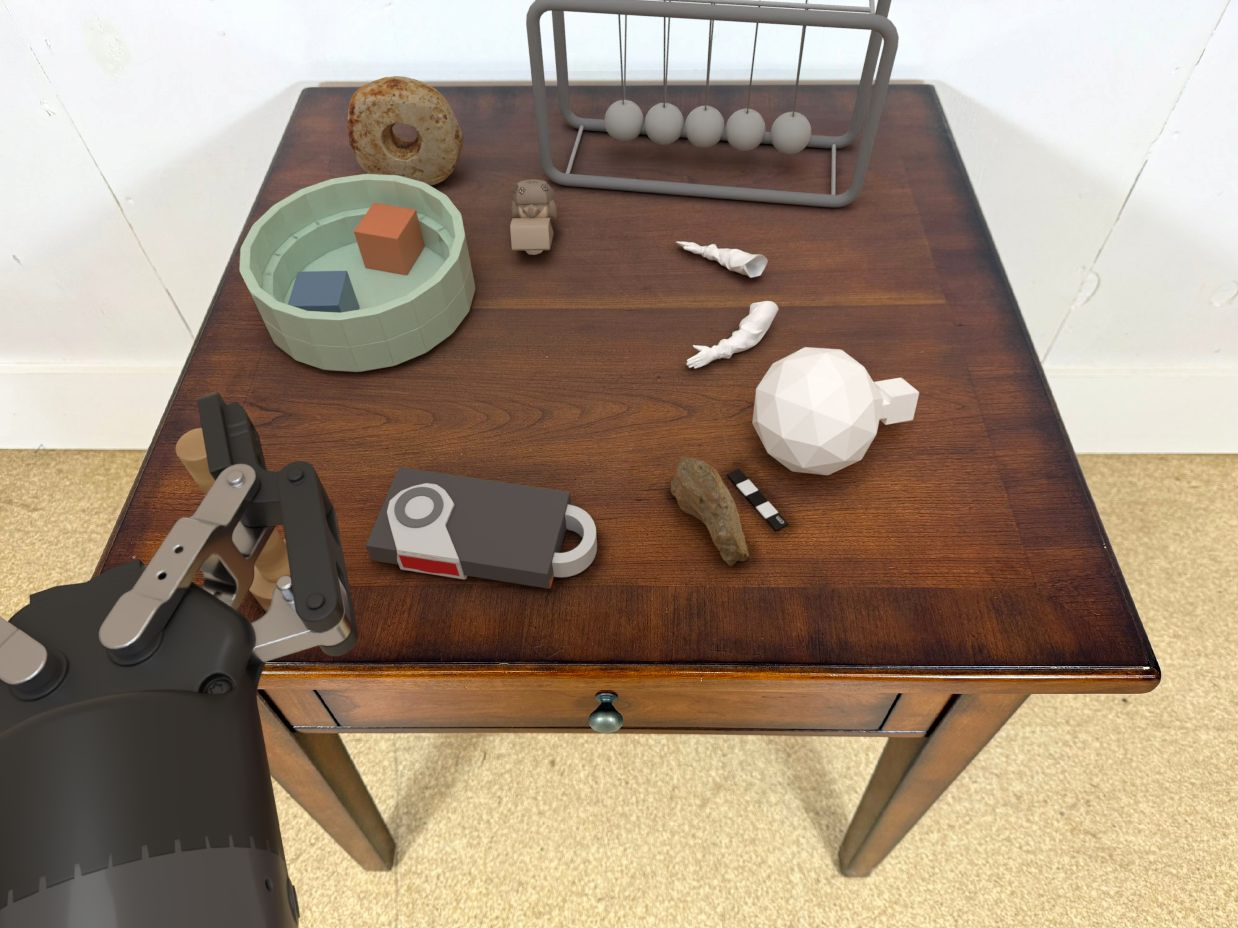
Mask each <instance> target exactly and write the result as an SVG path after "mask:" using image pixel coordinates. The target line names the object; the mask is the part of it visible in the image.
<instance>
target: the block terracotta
mask: <svg viewBox="0 0 1238 928" xmlns="http://www.w3.org/2000/svg"><path fill="white" fill-rule="evenodd" d="M354 234H355V237H356V240H357V244H358V247H359V250H360V253H361V256H362V259H363V262H364V265H365V268H369V269H374V270H380V271H385V272H391V273H396V274H402V275H408V273H409V272H410V270H411V268H412V267H413V265H414V264H415V262H416V260H417V259H418V257H419V255H420V254H421V252H422V250H423V249H424V247H425V244H424V240H423V236H422V232H421V228H420V224H419V220H418V216H417V212H416V210H415V209H409V208H403V207H397V206H391V205H385V204H379V203H373V204H372V206H371V207H370V208H369V210H368V211H367V213H366V214H365V216H364V217H363V218H362V220H361V221H360V223H359V224H358V226H357V227H356V229H355V230H354Z"/></svg>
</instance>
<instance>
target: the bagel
mask: <svg viewBox="0 0 1238 928" xmlns="http://www.w3.org/2000/svg"><path fill="white" fill-rule="evenodd" d="M346 112H347V113H346V116H347V120H346V122H347V127H346V128H347V135H348V145H349V146H350V147H351V150H352V153H353V155H354V158H355V160H356V162H357V164H358V165H359V166H360V168H361V169H362V170H364V172H365V173H366V174H379V175H398V176H402V177H406V178H409V179H413V180H417V181H421V182H424V183H426V184H428V185H430V186H431V187H432V186H435V185H437V184H440V183H441V182H444V181H445V180H446V179H447V178H449V176H450V175H451V174H453V172H454V170H456V169H455V168H456V166H457V165H458V163H459V160H460V158H461V155H462V151H463V148H464V134H463V131H462V129H461V126H460V124H459V121H458V120H457V118H456V116H455V113H454V111H453V109H452V107H451V105H450V104H449V102H448V100H447V99H446V98H445V97H444V95H443V94H442V93H440V91H439V90H438V89H436V88H434V87H433V86H431V85H430V84H428V83H426V82H423V81H421V80H418V79H415V78H411V77H408V76H401V75H400V76H399V75H393V76H385V77H380V78H379V79H374V80H372V81H370V82H368V83H365V84H364V85H362V86H361V87H359V88H358V89H356V91H355V92H354V93H353V95H352V96H351V98H350V101H349V103H348V106H347V111H346ZM396 124H403V125H407V126H410V127H411V128H412V129H414V130H415V132H416V137H415V138H414V139H412V140H405V139H402V138H400V137H399V136H397V135H396V134H395V132H394V130H393V127H394V126H395V125H396Z"/></svg>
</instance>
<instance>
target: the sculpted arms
mask: <svg viewBox="0 0 1238 928" xmlns="http://www.w3.org/2000/svg"><path fill="white" fill-rule="evenodd" d="M675 244H677V245H678V246H680V247H682V248H683V250H685V251H688V252H691V253H693V254H695V255H700V256H702V257H703V258H706V259H707V260H709V261H716V262H717V263H719V264H720V265H721V266H723V267H724V268H727V270H729V272H735V273H737V274H740V275H743V276H747V277H749V279H750V278H751V279H752V278H756V277H759V276H761V275H762V273H763V272H764V270H765V269H766V266H767V264H768V262H769V260H768V258H767V257H766V256H765V255H764V254H762V253H761V254H760V253H759V254H755V253H754V254H752V253H751V252H746V251H743V250H741V249H738V248H728V247H726V248H718V246H717V244H715V243H712V244H709V245H703V246H701V245H700V244H697V243H695V242H693V241H690V242H689V241H679V240H677V241H675ZM778 312H779V307H778V305H777V304H776V303H775V302H774V301H771V300H764V301H758V302H753V303H751V304H750V305H749V312H748V313H749V314H748V315H747V316H745V317H744V318H742V319H741V320H740V322H739V324H738V330H734V331H732V333H731V336H730V337H729V338H723V339H720V341H718V343H717V345H713V346H711V347H709V346H707V345H695V344H693V345H692V347H693V348H694V349H695V350H696V351H698V353H697V354H695V355H693V356H691V357H690V358H688V359H686V366H688V368H689V369H691V368H693V369H694V370H695V369H698V368H701V367H703V366H706V365H708V364H710V363H711V362H713V361H716V360H721V359H727V360H729V359H731V358H732V356H733V354H735V353H741V352H744V351H748V350H749V349H751V348H753V347H755V346H756V345H757V344H758V343H760V342H761V340H762V338H764V336H765V334H766V333H767V332H768V330H769V329H770V327H771V326H772V323H773V321H774V319H775V317H776V316H777V314H778Z"/></svg>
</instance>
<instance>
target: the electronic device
mask: <svg viewBox="0 0 1238 928" xmlns="http://www.w3.org/2000/svg"><path fill="white" fill-rule="evenodd" d="M567 530H568V531H572V532H574V533H576V534H577V535H579V536H580V537H581V538H582V539H581V541H580V543H579V544H578V545H577V546H576V547H575V548H573V549H571V550H568V551H565V552H561V551H562V547H563V544H564V540H565V536H566V533H567ZM365 548H366V550H367V552H368V554H369V556H370V559H371V561H374V562H380V563H385V564H392V565H398V566H399V569H400V570H402V571H410V572H415V573H421V574H427V575H434V576H440V577H446V578H452V579H459V580H467V578H468V577H472V578H473V577H474V578H480V579H486V580H492V581H498V582H504V583H511V584H517V585H523V586H529V587H535V588H542V589H551V588H552V586H553V585H552V584H553V582H554V578H568V577H572V576H576V575H578V574H580V573H582V572H584V571H585V570H587V568H588V567H590V566H591V564H592V563H593V562H594V560H595V559H596V555H597V551H598V539H597V527H596V524H595V521H594V519H593V518H592V516H591V515H590V514H589V513H588V512H587V511H585V510H584V509H583V508H581V507H579V506H576V505H573V504H572V499H571V491H569V490H561V489H556V488H555V489H554V488H547V487H546V488H545V487H541V486H534V485H526V484H519V483H513V482H506V481H499V480H492V479H484V478H480V477H479V478H478V477H471V476H464V475H457V474H452V473H451V474H450V473H444V472H437V471H430V470H424V469H416V468H410V467H404V466H398V469H397V470H396V473H395V476H394V477H393V481H392V482H391V484H390V487H389V490H388V492H387V494H386V497H385V498H384V501H383V503H382V506H381V509H380V510H379V513H378V515H377V518H376V520H375V522H374V525H373V527H372V529H371V531H370V534H369V536H368V538H367V540H366V543H365Z"/></svg>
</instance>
